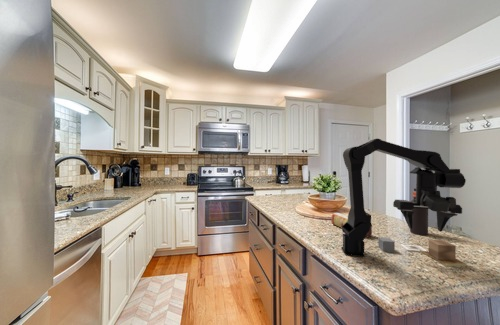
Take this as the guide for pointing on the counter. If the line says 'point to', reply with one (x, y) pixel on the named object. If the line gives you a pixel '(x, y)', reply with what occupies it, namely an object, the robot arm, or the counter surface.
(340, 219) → the snack package
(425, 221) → the bottle
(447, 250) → the walnut block
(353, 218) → the robot arm
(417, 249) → the plan card
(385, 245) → the gray cube
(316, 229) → the counter surface
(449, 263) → the shard
